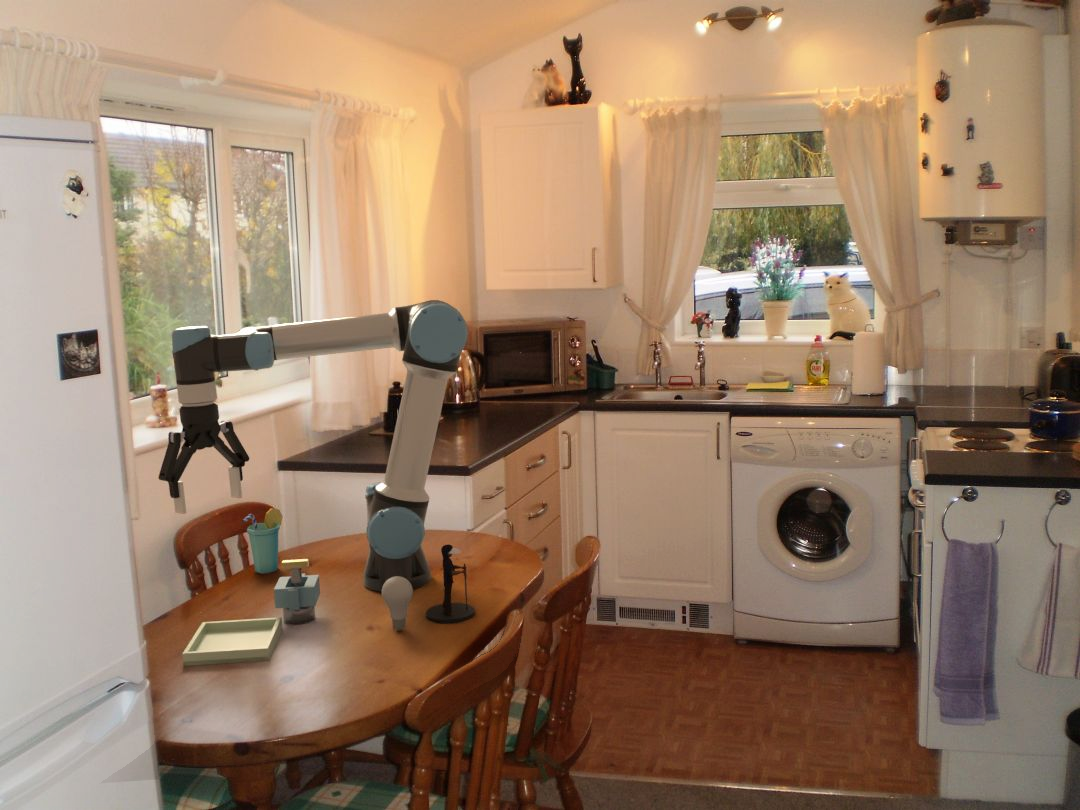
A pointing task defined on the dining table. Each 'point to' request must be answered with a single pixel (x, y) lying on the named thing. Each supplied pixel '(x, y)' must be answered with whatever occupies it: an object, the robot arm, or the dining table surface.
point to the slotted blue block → (297, 592)
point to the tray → (233, 641)
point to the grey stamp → (295, 566)
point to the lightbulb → (397, 599)
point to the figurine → (448, 610)
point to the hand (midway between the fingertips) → (209, 505)
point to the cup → (265, 541)
